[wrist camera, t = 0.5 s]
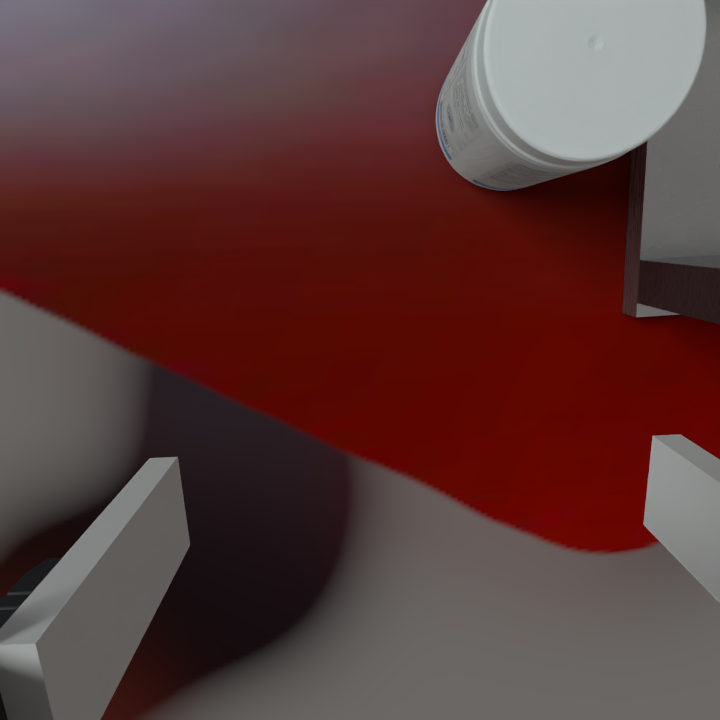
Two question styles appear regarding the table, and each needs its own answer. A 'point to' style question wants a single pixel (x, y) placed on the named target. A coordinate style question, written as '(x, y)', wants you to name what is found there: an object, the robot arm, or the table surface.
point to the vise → (679, 204)
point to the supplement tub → (565, 85)
